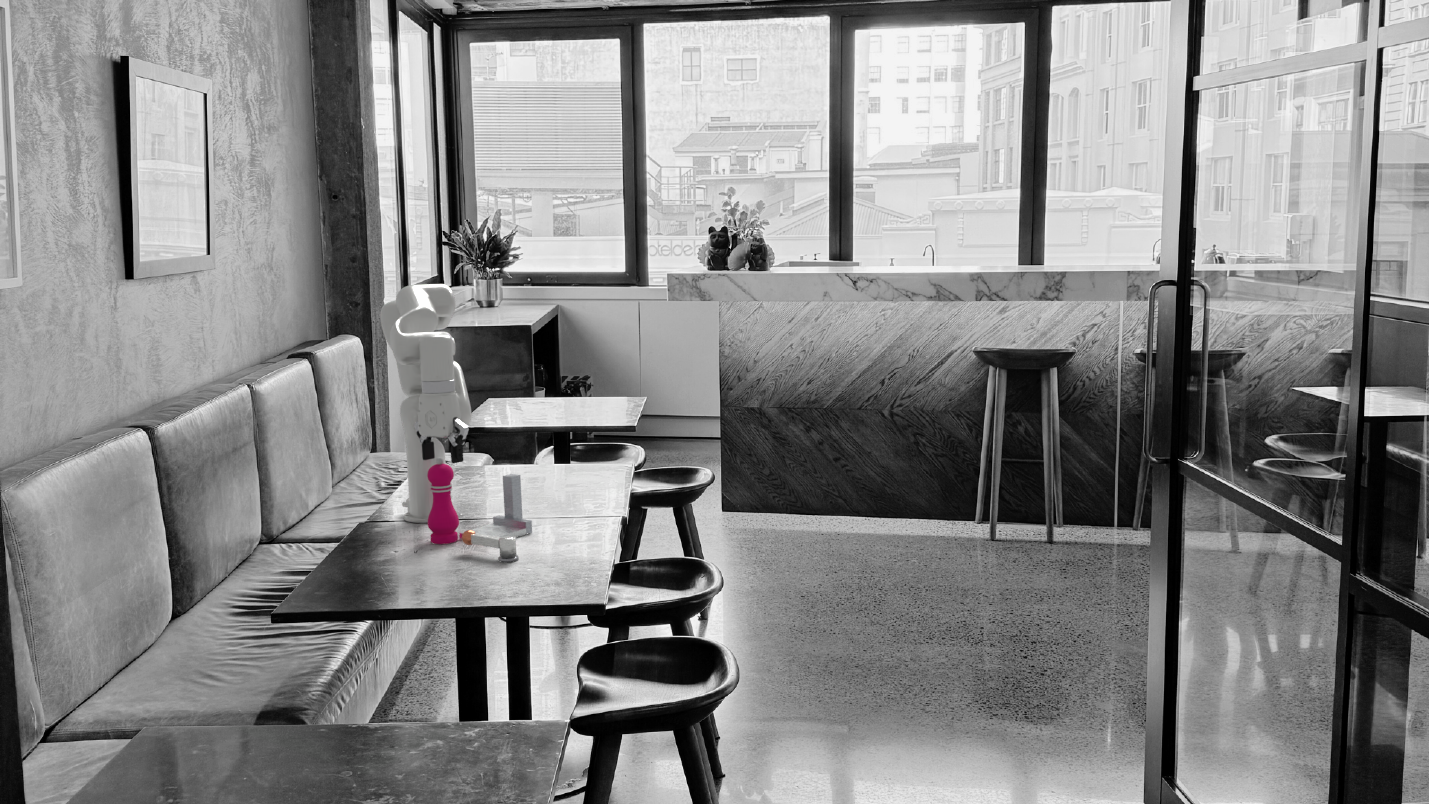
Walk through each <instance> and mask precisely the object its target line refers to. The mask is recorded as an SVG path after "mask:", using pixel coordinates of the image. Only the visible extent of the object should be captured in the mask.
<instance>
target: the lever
mask: <svg viewBox="0 0 1429 804" xmlns="http://www.w3.org/2000/svg"><path fill="white" fill-rule="evenodd" d="M463 532H464V531H463ZM461 540H462V543H463V544H464V545H466V546H472V545H478V546H483V547H488V548H494V549H499V556H500V557H501V558H512V557H515V556H516V555H518V554H517V539H516V537H514V536H504V537H496V536H490V535H485V534H479V533H475V532H474V531H472V530H471V529H467V530H465V532H464V533H463V534H462V539H461Z"/></svg>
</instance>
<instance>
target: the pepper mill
mask: <svg viewBox="0 0 1429 804" xmlns="http://www.w3.org/2000/svg"><path fill="white" fill-rule="evenodd" d="M443 462H444V460H443V458H441V457H438V458H437V459H436V463H437V464H435V465H433V466H432V467H430V469H429V470H428V474H427V477H428V480H429V481H430V482H431V484H432V485H431V486H430V487H431V490H430V491H431V492H432V493H433V505H432V509H431V511H430V514H429V517H428V523H427V527H428V529H429V531H431V532H432V533H430V535H429V537H430V543H432V544H435V545H447V544H453V543H456V542H457V541H459V534H458V532H457V529H458V527H459V526H460V519H459V515H458V512H457V511H456V509H455V506H454V505H453V504H454V503H453V502H452V496H451V492H452V490H453V484H452V483H451V482H452V481H453V479H454V477H455V476H454V475H455V474H454V473H455V472H454V470H453V468H452V467H451V466H450V465H449V464H447V463H446V464H443Z"/></svg>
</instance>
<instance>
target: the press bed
mask: <svg viewBox="0 0 1429 804" xmlns="http://www.w3.org/2000/svg"><path fill="white" fill-rule="evenodd" d="M502 488H503V507H504V509H503V510H504V515H496V516H493V517H492V523H489V524H485V525H483V526H477V527H475V528H472V529H470V530H472V531H474V532H475V533H479V534H485V535H490V536H496V537H504V536H514V537H517V538H519V537H518V536H520V537H523V536H525V534H526V535H528V534H527V533H530V534H532V533H533V521H532V520H530V519H524V518H523V504H522V503H523V502H522V482H521V474H516V473H509V474H506V475H502ZM465 531H466V530H465ZM465 531H461V532H459V534H458V535H459V540H462V534H463V533H464V532H465ZM497 560H499V561H501V562H500V563H504V562H507V563H514V562H517V561H519V555H518V554H517V555H516V556H515V557H512V558H501V557H500V555H499V556H498V557H497ZM516 560H517V561H516ZM499 561H498V562H499ZM513 561H514V562H513Z"/></svg>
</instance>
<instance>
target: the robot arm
mask: <svg viewBox="0 0 1429 804" xmlns="http://www.w3.org/2000/svg"><path fill="white" fill-rule="evenodd" d="M455 311H456V297H455V294H454V292H453V290H452V289H451V287H450V286H448V285H447V284H444V283H430V284H429V283H428V284H427V283H426V284H412V285H410V284H409V285H407V286H404V287H403V288H401V289H400V290H399V291H398V292H397V294H396V297H395V300H392V301H389V302H387V303H385V304H384V305H383V306H382V307H381V308H380V323H381V324H380V326H381V329H382V332H383V336H384V338H385V340H386V342H387V344H388V346H389V347H390V349H391V351H392V353H393V356H394V359H395V361H396V362H395V363H396V366H397V373H398V378H399V383H400V387H401V390H402V392H403V394H404V395H405V396H406V398H405V399H403V401H402V402H401V404H400V405H399V406H400V407H399V415H400V420H401V424H402V430H403V436H404V442H405V452H406V454H405V455H406V467H407V468H406V469H407V470H406V471H407V483H408V498H407V499H406V500H405V501H403V502H401V503H402V504H401V505H402V507H403V508H407V512H406V513H404V515H403V519H404V521H406V522H409V523H414V524H415V523H417V524H420V523H423V524H424V523H425V524H426V523H427V524H428V517H429V514H430V511H431V509H432V505H433V493H432V492H431V491H430V490H431V487H430V486H431V485H432V484H431V482H430V481H429V480H428V477H427V474H428V470H429V469H430V467H432V466H433V465H435V464H437V463H436V459H437V458H438V457H441V458H443V460H444V462H443V464H447V463H446V450H445V447H444V445H443V443H442V442H441V441H440V440H439V439H446V438H447V439H448V440H449V442H450V443H451V446H450V447H449V448H450V462H451V464H457V463H462V462H464V449H463V445H465V441H466V440H467V438H468V436H467V435H468V433H469V430H470V429H469V425H470V424H471V422H472V418H473V417H472V407H471V402H470V398H469V393H468V389H467V384H466V381H465V379H466V378H465V377H464V372H463V369H462V366H461V365H460V364H459V363H458V362H457V361H455V360H454V356H455V355H456V342H455V339H454V337H452V335H451V334H450V333H449V332H447V331H442V330H444V329H446V328H448V326H449V324H450V323H451V320H452V318H453V316H454V314H455ZM440 330H441V331H440Z"/></svg>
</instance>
